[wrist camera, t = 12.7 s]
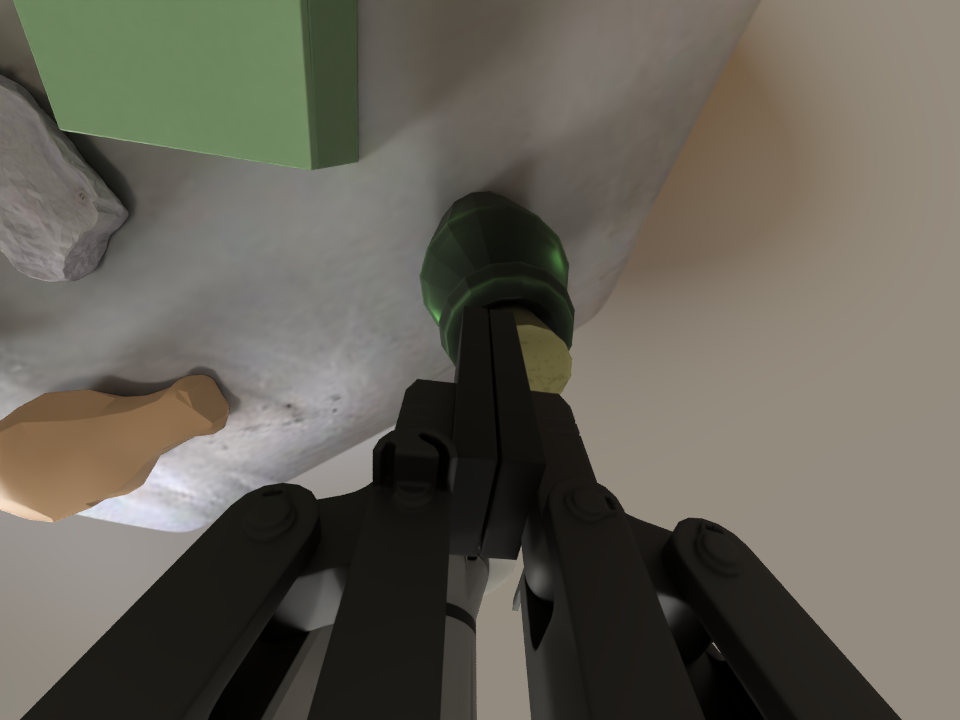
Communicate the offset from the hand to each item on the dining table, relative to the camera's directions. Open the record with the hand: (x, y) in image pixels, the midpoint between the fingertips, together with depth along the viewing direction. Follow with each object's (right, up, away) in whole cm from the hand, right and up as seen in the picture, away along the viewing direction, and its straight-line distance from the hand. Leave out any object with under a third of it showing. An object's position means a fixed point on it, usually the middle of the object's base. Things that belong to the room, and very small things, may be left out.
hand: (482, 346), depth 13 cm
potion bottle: (0, +9, +16) cm, 19 cm away
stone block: (-31, +13, +14) cm, 36 cm away
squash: (-33, -5, +24) cm, 41 cm away
